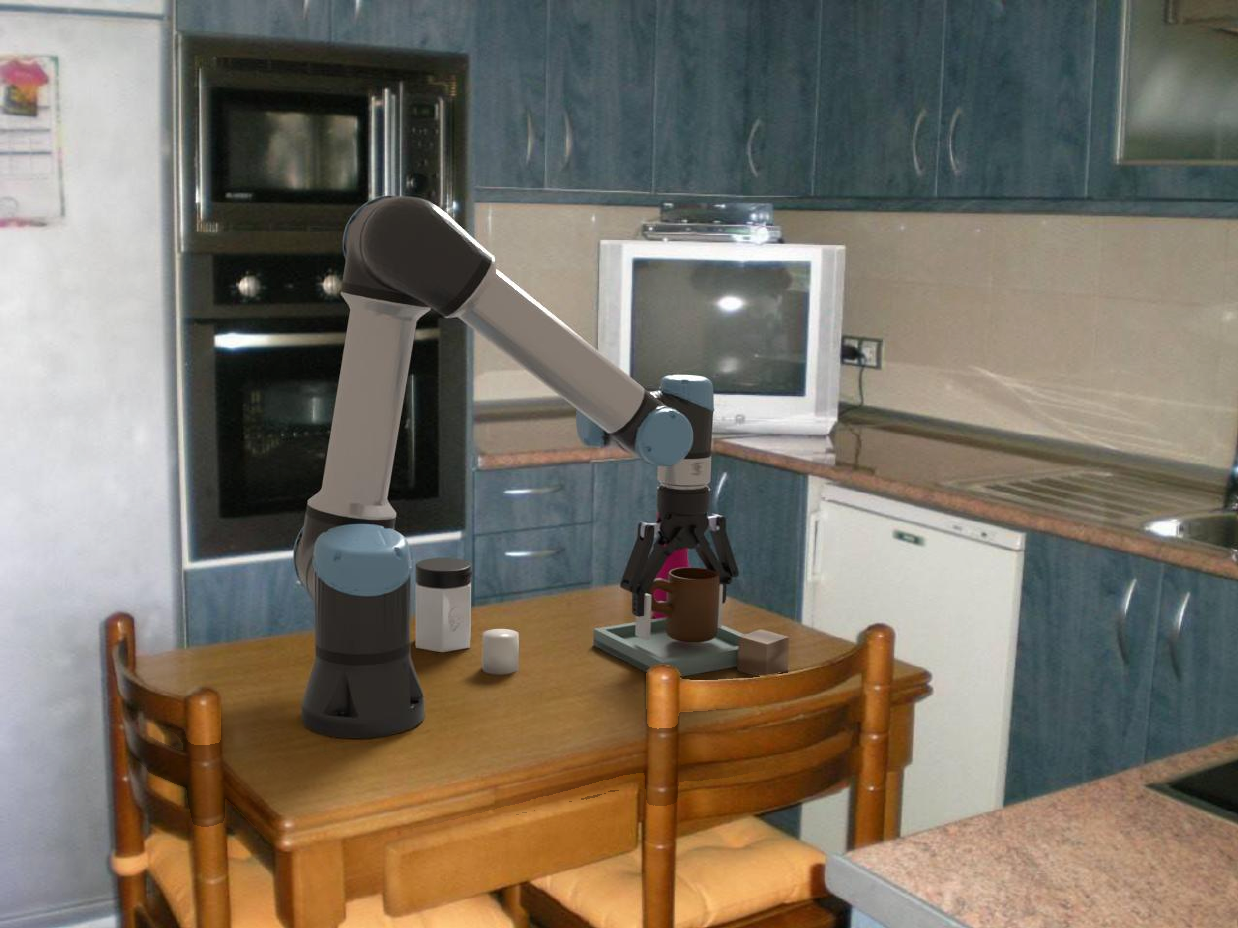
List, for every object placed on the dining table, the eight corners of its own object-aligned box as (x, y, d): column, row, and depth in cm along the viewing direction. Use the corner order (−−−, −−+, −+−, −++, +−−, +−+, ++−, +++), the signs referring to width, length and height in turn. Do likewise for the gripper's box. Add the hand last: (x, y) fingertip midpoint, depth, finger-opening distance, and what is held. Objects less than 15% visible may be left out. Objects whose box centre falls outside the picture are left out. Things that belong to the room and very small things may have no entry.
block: (765, 678, 199) (767, 644, 198) (737, 670, 202) (738, 636, 201) (787, 671, 202) (789, 636, 201) (759, 662, 206) (760, 629, 205)
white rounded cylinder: (492, 676, 197) (492, 641, 196) (475, 666, 201) (476, 631, 200) (524, 671, 199) (525, 636, 198) (507, 661, 203) (508, 626, 203)
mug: (654, 649, 202) (656, 584, 201) (629, 634, 209) (631, 571, 207) (727, 640, 208) (730, 577, 206) (700, 625, 214) (703, 564, 213)
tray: (662, 680, 197) (662, 662, 196) (593, 644, 212) (593, 628, 211) (765, 660, 206) (766, 643, 206) (693, 628, 221) (693, 612, 221)
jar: (428, 655, 205) (429, 574, 203) (403, 641, 211) (403, 561, 209) (484, 646, 210) (484, 566, 208) (457, 632, 216) (457, 554, 214)
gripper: (626, 496, 195) (622, 650, 199) (767, 482, 208) (760, 626, 212) (597, 486, 201) (594, 635, 205) (735, 473, 214) (729, 614, 218)
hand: (678, 631), depth 208 cm, fingers closed on mug, 12 cm apart
